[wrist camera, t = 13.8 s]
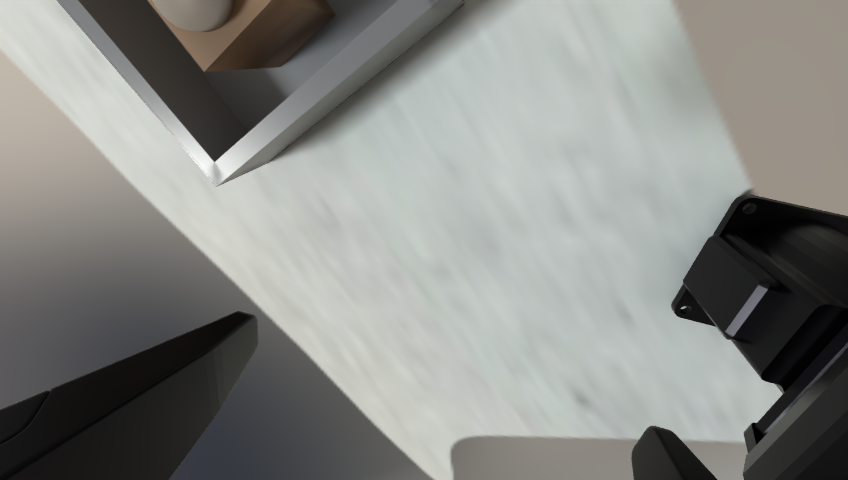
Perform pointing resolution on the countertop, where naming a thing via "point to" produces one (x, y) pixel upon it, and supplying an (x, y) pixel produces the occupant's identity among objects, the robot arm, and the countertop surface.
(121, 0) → the bin
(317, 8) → the strut
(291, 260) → the countertop surface
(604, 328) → the countertop surface
